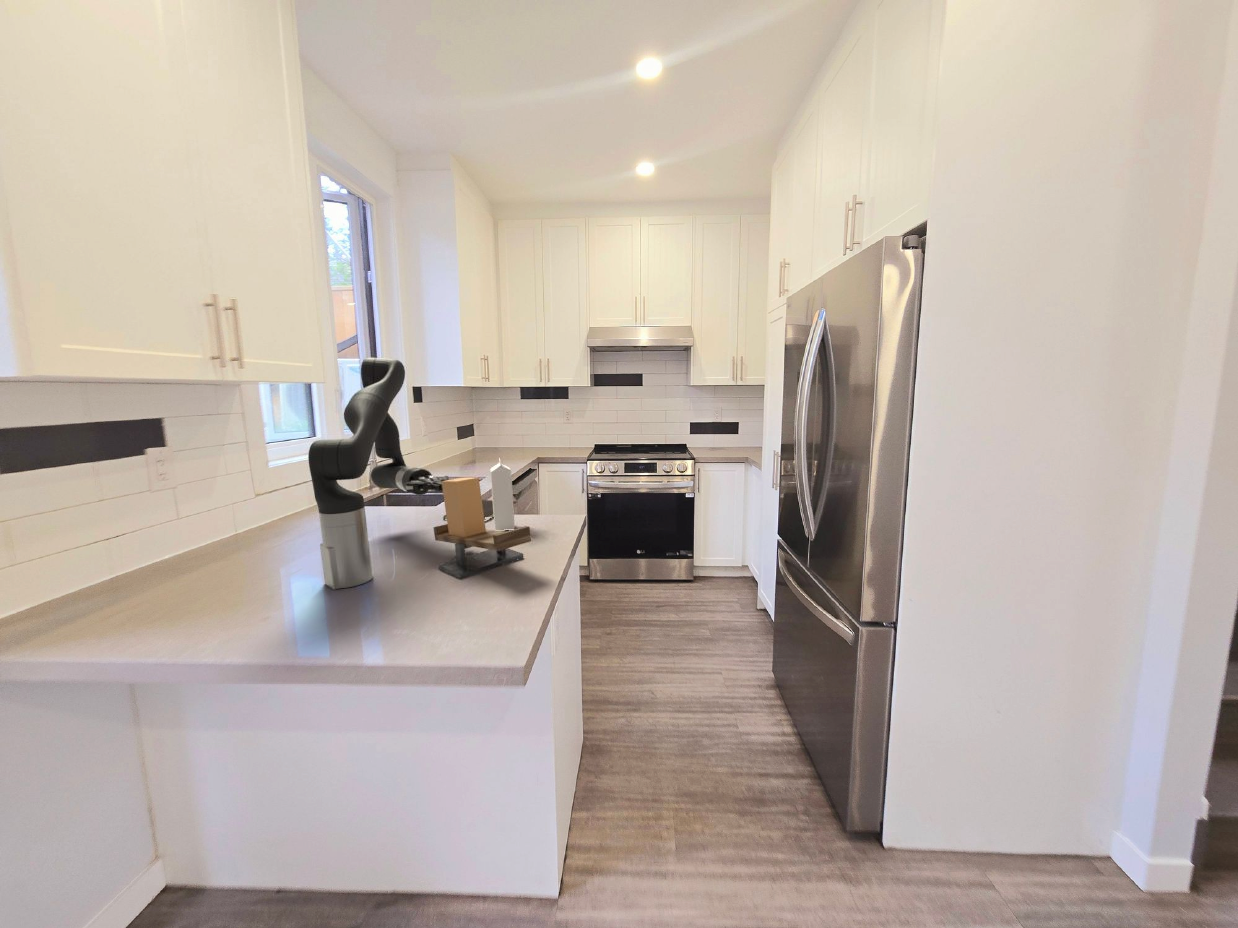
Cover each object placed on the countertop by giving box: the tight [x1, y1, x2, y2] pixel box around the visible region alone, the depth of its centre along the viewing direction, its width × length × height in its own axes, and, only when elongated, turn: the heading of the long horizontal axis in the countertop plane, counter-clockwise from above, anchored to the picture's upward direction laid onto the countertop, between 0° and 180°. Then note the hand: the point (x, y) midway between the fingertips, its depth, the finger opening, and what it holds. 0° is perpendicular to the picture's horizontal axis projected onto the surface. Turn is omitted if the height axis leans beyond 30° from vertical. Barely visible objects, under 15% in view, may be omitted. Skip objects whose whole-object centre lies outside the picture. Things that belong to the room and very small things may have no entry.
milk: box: [489, 457, 516, 531], centre depth 154 cm, size 6×6×22 cm
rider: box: [442, 477, 487, 537], centre depth 128 cm, size 6×8×14 cm
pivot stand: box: [438, 543, 524, 580], centre depth 125 cm, size 10×18×6 cm, turn 137°
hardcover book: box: [443, 499, 518, 520], centre depth 177 cm, size 16×23×2 cm
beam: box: [432, 523, 532, 551], centre depth 124 cm, size 30×9×4 cm, turn 47°
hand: (443, 487), depth 133 cm, fingers closed
